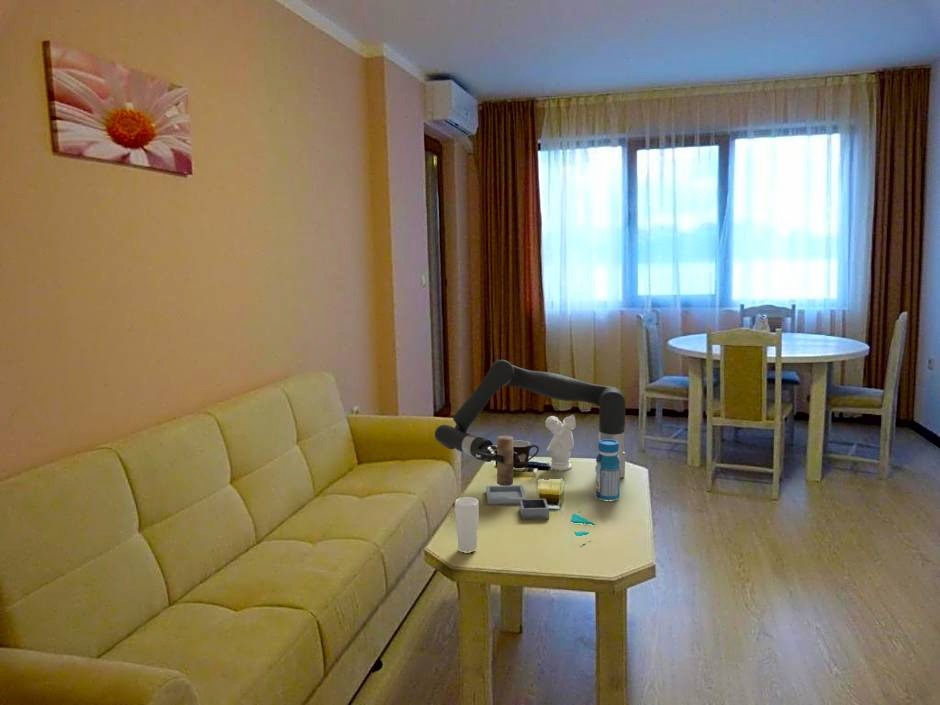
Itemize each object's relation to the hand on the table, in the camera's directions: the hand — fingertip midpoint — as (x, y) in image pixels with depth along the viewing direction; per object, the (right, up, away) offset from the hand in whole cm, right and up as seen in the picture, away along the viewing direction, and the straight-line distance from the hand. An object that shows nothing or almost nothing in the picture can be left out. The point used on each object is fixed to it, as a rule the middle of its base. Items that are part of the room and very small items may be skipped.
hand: (510, 458), depth 236 cm
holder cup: (+7, -17, -10) cm, 21 cm away
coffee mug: (+7, -10, +35) cm, 37 cm away
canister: (-2, -9, +3) cm, 10 cm away
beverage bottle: (+34, -14, +4) cm, 37 cm away
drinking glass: (-14, -22, -34) cm, 43 cm away
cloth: (+21, -20, -21) cm, 36 cm away
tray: (-1, -15, +4) cm, 15 cm away
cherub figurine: (+23, -9, +37) cm, 45 cm away
